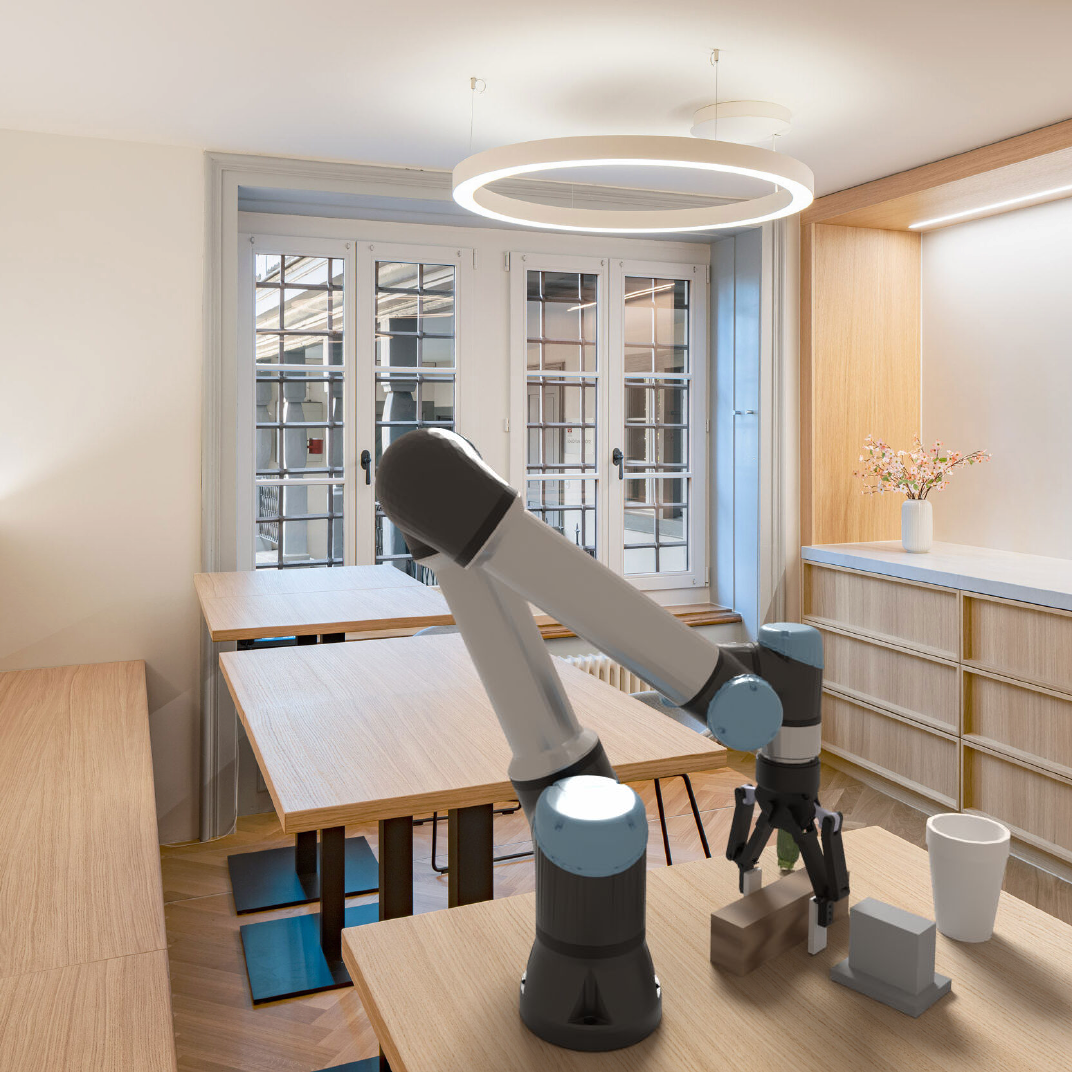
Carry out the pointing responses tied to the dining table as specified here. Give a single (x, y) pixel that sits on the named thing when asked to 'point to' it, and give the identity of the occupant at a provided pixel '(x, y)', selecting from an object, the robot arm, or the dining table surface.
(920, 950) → the grey stepped block
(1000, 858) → the foam cup
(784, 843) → the vegetable
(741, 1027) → the dining table surface
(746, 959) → the bar
